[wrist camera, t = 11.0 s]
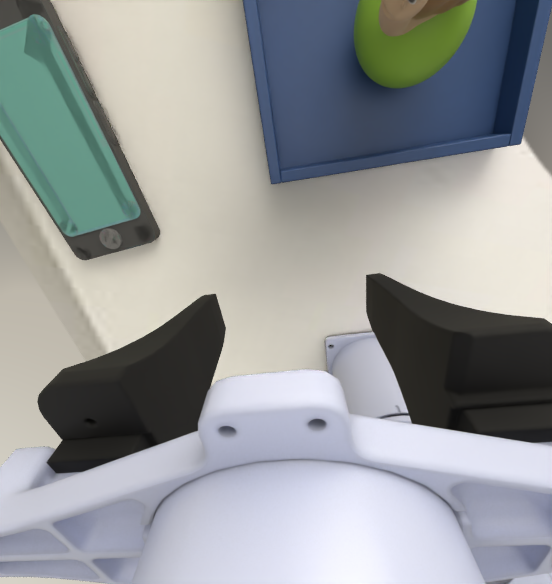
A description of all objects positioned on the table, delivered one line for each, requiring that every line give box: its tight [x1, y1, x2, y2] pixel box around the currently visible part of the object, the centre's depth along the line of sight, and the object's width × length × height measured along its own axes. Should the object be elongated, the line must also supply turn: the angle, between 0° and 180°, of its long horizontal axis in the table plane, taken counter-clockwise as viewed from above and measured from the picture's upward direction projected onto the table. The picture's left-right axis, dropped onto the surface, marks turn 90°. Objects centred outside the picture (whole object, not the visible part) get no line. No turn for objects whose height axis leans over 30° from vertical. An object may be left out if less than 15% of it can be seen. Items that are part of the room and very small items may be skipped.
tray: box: [243, 0, 552, 184], centre depth 16 cm, size 15×13×2 cm
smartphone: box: [0, 0, 160, 260], centre depth 20 cm, size 7×1×15 cm
